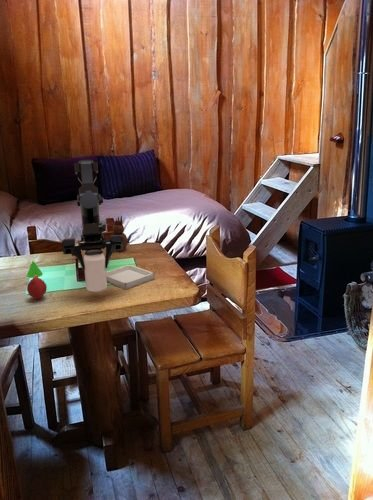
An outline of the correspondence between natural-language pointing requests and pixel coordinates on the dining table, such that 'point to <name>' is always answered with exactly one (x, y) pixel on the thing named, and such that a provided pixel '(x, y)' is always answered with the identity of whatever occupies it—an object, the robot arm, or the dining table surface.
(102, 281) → the can
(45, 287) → the red rounded piece
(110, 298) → the dining table surface
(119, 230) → the brown rounded spiky piece
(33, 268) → the green pyramid
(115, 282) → the tray
